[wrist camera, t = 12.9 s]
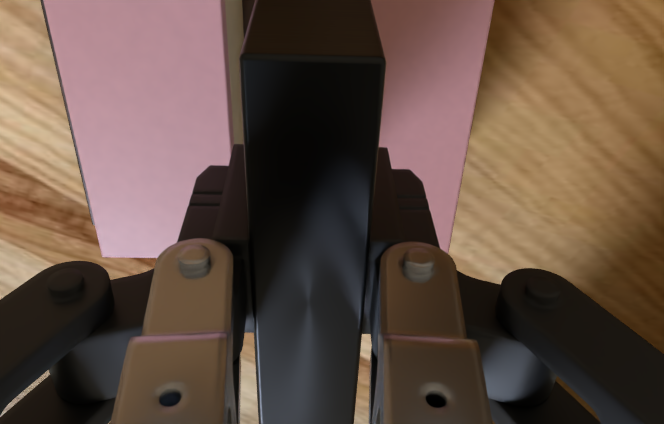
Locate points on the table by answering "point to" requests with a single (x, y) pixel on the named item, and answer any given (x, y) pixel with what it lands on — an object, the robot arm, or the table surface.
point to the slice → (432, 92)
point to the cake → (148, 108)
